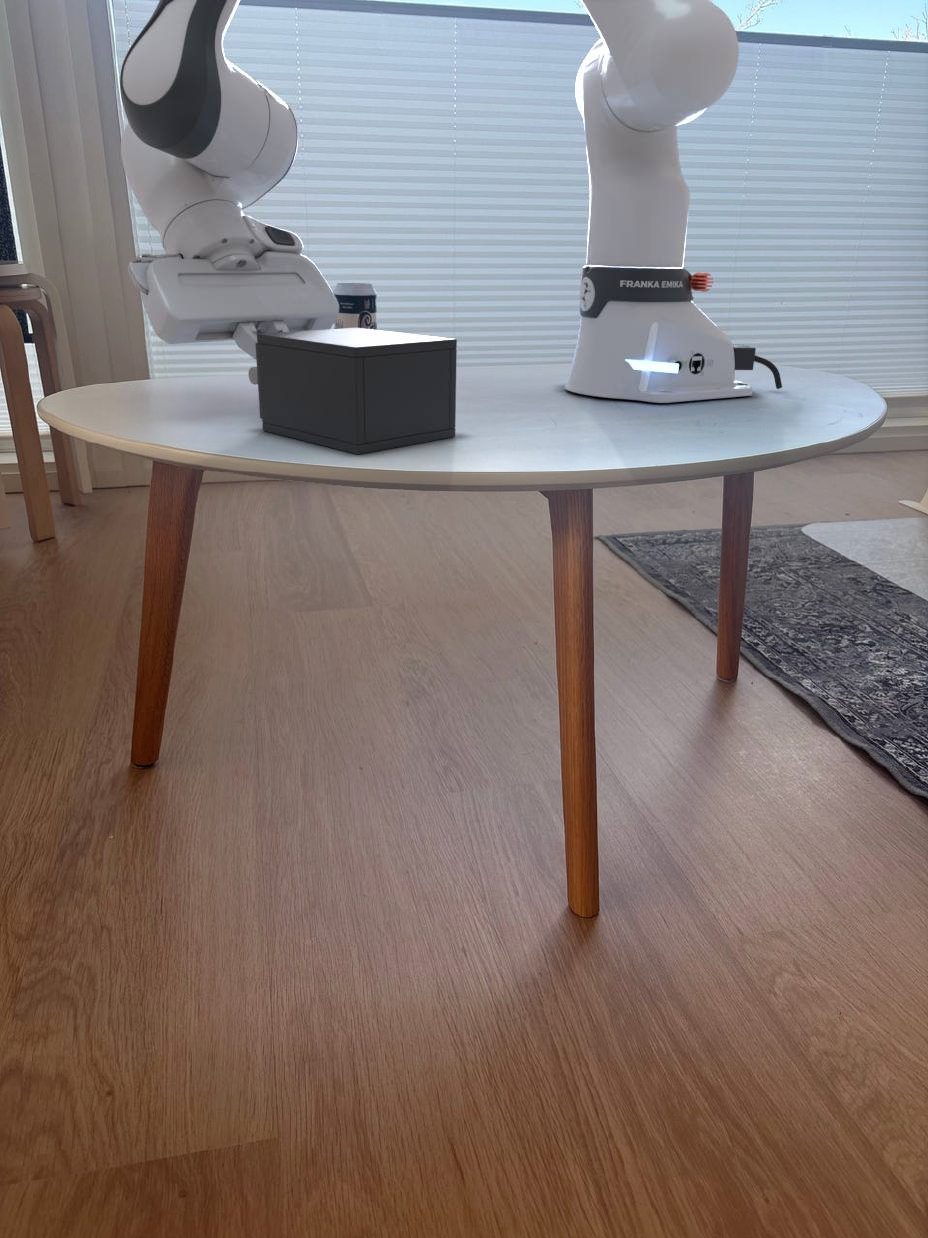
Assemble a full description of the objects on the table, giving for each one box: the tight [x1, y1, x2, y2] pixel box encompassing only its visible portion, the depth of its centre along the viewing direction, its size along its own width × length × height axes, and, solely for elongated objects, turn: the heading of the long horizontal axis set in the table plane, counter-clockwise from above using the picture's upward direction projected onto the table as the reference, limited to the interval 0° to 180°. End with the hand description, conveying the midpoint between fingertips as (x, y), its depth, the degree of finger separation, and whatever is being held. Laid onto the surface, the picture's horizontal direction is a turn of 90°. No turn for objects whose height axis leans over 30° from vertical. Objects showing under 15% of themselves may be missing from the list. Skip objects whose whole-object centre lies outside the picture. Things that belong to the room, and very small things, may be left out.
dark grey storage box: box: [257, 328, 458, 455], centre depth 84 cm, size 14×12×9 cm
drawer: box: [247, 343, 262, 420], centre depth 86 cm, size 16×10×7 cm, turn 46°
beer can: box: [333, 282, 378, 330], centre depth 104 cm, size 5×5×12 cm
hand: (279, 366), depth 91 cm, fingers closed, pressing on drawer
